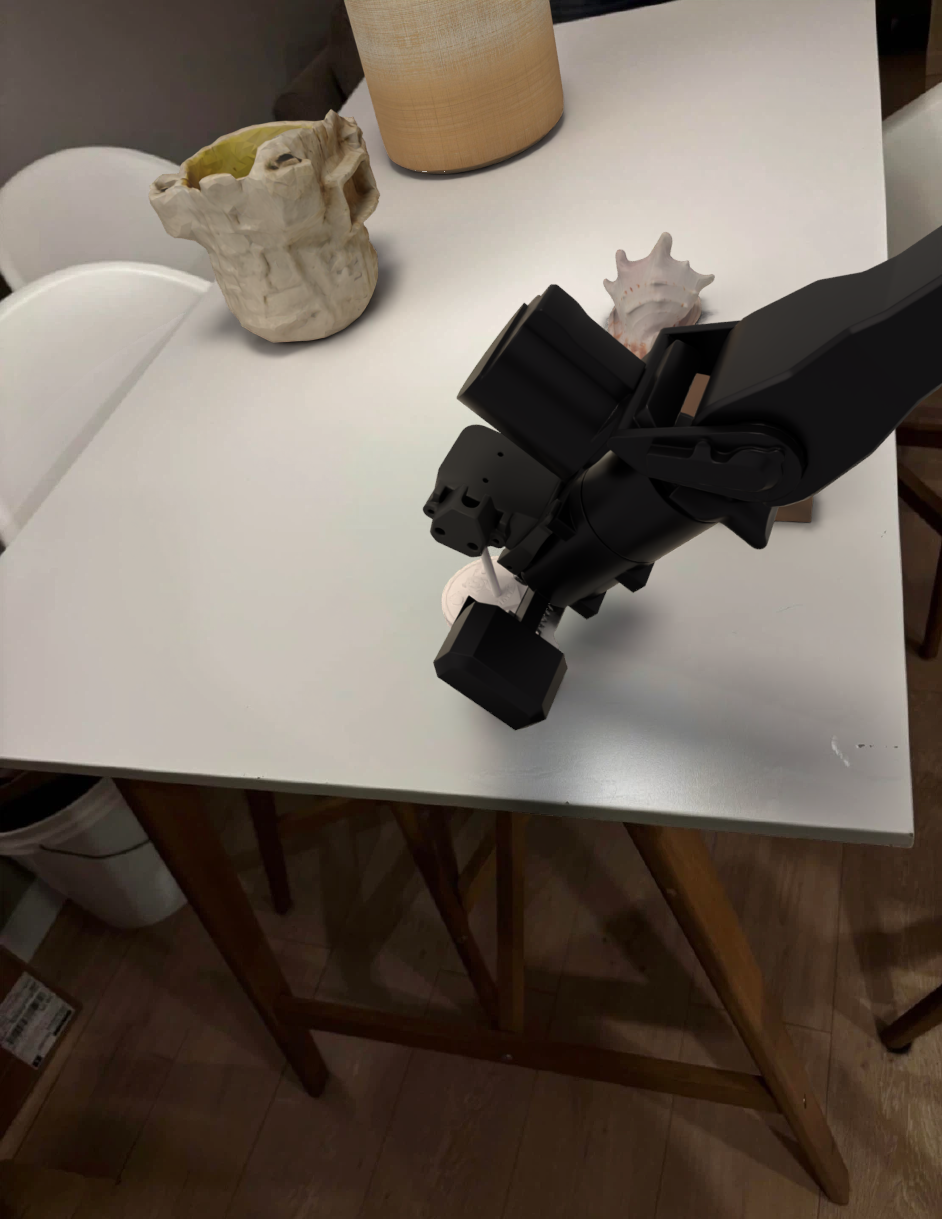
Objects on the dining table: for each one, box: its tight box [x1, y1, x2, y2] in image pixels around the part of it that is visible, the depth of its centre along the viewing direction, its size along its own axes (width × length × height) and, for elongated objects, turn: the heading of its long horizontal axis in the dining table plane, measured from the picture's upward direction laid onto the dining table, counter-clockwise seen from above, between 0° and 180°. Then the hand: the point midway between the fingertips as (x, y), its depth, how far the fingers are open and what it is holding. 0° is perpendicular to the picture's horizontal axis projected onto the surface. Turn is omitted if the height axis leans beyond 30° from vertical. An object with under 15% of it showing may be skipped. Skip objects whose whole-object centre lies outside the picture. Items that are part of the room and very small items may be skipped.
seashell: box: [602, 231, 716, 359], centre depth 81 cm, size 10×12×9 cm
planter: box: [343, 0, 565, 175], centre depth 116 cm, size 25×25×22 cm
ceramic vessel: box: [148, 109, 381, 344], centre depth 96 cm, size 23×24×25 cm
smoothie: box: [440, 547, 539, 634], centre depth 56 cm, size 6×6×14 cm
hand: (479, 615), depth 57 cm, fingers closed on smoothie, 6 cm apart
